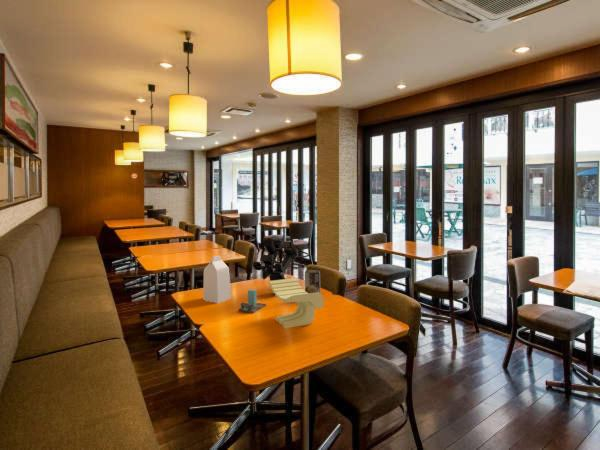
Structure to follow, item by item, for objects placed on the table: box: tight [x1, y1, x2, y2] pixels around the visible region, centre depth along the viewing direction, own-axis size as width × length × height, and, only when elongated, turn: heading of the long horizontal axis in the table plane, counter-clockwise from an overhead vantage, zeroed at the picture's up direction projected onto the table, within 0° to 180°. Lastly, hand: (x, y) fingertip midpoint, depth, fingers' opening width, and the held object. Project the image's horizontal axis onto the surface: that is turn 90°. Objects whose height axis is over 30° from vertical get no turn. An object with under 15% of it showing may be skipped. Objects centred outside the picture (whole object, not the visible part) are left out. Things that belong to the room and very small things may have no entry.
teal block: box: [243, 289, 258, 311], centre depth 199 cm, size 9×4×9 cm, turn 157°
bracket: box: [238, 302, 267, 314], centre depth 203 cm, size 14×9×4 cm, turn 157°
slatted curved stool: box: [269, 278, 324, 329], centre depth 182 cm, size 30×16×18 cm, turn 24°
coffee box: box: [304, 269, 321, 293], centre depth 222 cm, size 9×6×16 cm
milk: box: [202, 255, 232, 304], centre depth 220 cm, size 12×12×26 cm
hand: (263, 279), depth 213 cm, fingers closed
